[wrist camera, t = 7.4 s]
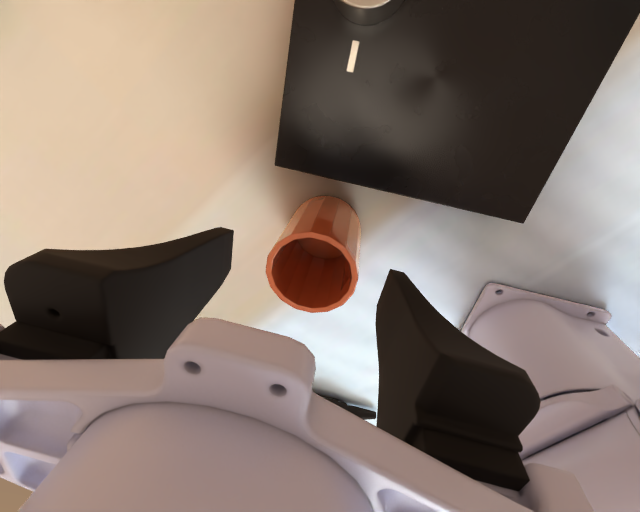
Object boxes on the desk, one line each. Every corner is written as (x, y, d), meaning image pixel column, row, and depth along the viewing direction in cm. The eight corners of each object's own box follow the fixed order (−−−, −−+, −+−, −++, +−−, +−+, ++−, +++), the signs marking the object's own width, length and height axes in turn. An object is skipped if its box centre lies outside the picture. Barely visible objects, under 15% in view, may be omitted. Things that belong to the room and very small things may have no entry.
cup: (368, 204, 23) (368, 245, 17) (351, 266, 25) (345, 321, 19) (298, 188, 23) (271, 222, 17) (287, 250, 25) (261, 300, 19)
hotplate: (649, -65, 15) (702, -95, 12) (507, 210, 22) (524, 224, 19) (311, -133, 15) (300, -174, 13) (275, 156, 22) (264, 164, 20)
